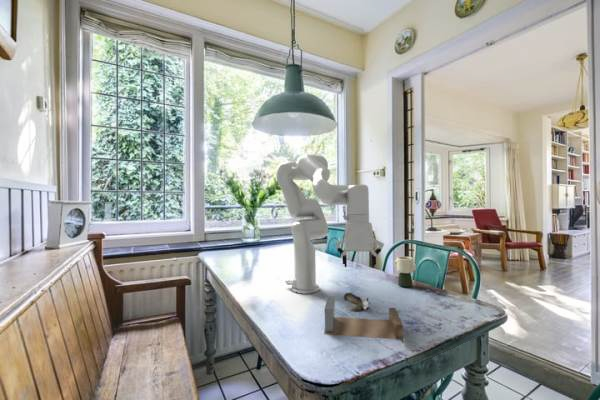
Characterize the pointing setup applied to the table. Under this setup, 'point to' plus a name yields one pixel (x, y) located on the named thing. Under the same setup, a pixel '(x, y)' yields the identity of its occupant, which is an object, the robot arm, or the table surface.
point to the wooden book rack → (370, 327)
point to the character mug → (405, 270)
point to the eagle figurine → (356, 302)
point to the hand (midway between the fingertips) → (359, 266)
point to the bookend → (330, 314)
